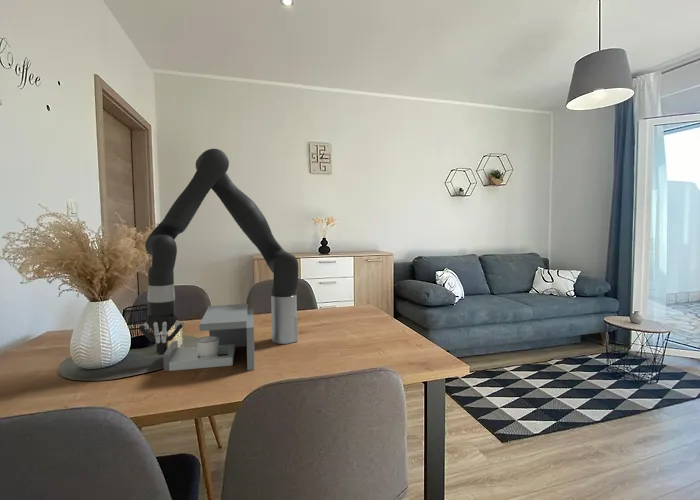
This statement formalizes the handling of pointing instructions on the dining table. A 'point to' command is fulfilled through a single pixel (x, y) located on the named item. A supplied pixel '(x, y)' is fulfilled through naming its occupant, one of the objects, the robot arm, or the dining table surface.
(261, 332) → the dining table surface
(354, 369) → the dining table surface
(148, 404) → the dining table surface
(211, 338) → the shot glass
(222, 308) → the grey shelf
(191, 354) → the grey flat bracket
